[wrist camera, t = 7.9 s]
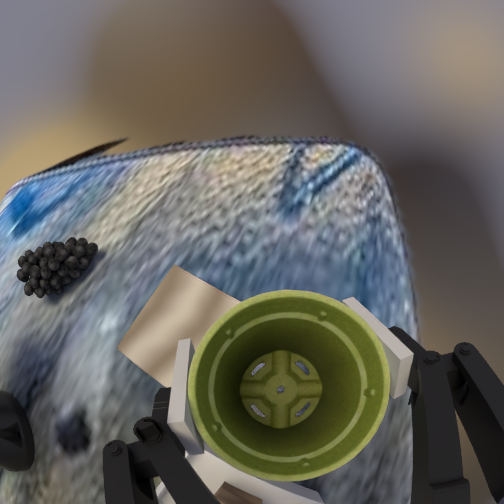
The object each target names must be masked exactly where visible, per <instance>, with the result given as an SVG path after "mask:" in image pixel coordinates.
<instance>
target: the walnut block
mask: <svg viewBox="0 0 504 504" xmlns="http://www.w3.org/2000/svg"><path fill="white" fill-rule="evenodd" d="M214 496H215V497H216V498H217V500H218V501H219V502H220V503H221V504H262V499H260V498H258V497H256V496H253V495H251V494H249V493H247V492H245V491H243V490H241V489H239V488H236V487H234V486H232V485H231V484H229V483H227V482H225V481H224V483H223V484H222V485H221V487H220V488H219V489H218V490H217V492H216V493H215V494H214Z"/></svg>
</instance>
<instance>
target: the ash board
mask: <svg viewBox="0 0 504 504" xmlns="http://www.w3.org/2000/svg"><path fill="white" fill-rule="evenodd" d="M239 303H240V301H238V300H236V299H235V298H233V297H231V296H229V295H227V294H225V293H224V292H222V291H220V290H218V289H216V288H215V287H213V286H211V285H209V284H208V283H206V282H204V281H202V280H201V279H199V278H197V277H195V276H194V275H192V274H190V273H188V272H187V271H185V270H183V269H181V268H180V267H178V266H176V265H175V264H174V265H173V267H172V268H171V270H170V271H169V272H168V274H167V275H166V277H165V278H164V279H163V281H162V282H161V284H160V285H159V286H158V288H157V289H156V291H155V292H154V293H153V295H152V296H151V298H150V299H149V301H148V302H147V303H146V305H145V306H144V308H143V309H142V311H141V312H140V314H139V315H138V317H137V318H136V320H135V321H134V322H133V324H132V325H131V327H130V328H129V330H128V331H127V333H126V334H125V336H124V338H123V339H122V341H121V342H120V344H119V345H118V347H117V349H118V350H120V351H121V352H122V353H123V354H124V355H125V356H127V357H128V358H129V359H130V360H131V361H133V362H134V363H135V364H136V365H138V366H139V367H140V368H141V369H143V370H144V371H145V372H146V373H148V374H149V375H150V376H152V377H153V378H154V379H156V380H157V381H158V382H160V383H161V384H162V385H164V386H165V387H166V388H167V387H172V380H173V373H174V366H175V360H176V353H177V347H178V341H179V340H183V339H189V338H191V341H192V343H193V346H194V349H195V351H196V349H197V347H198V345H199V343H200V341H201V340H202V338H203V336H204V335H205V333H206V332H207V331H208V329H209V328H210V327H211V326H212V325H213V324H214V323H215V322H216V321H217V320H218V319H219V318H220V317H221V316H222V315H223V314H224V313H226V312H227V311H228V310H229V309H231V308H232V307H234V306H235V305H237V304H239Z"/></svg>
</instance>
